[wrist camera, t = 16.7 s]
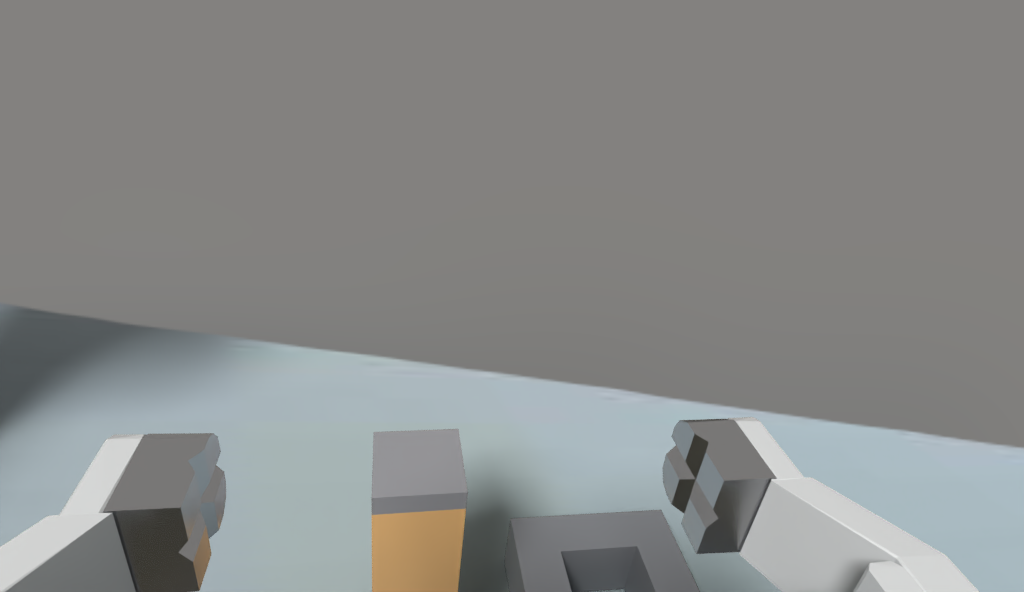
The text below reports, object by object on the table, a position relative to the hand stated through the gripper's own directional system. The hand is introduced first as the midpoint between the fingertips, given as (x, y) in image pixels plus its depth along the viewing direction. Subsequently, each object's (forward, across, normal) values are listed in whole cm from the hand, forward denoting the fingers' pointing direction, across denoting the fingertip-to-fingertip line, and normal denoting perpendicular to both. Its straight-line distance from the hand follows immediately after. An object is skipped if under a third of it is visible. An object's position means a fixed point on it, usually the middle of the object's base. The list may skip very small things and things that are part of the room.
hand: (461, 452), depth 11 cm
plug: (+12, 0, -26) cm, 29 cm away
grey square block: (+12, +11, -26) cm, 31 cm away
